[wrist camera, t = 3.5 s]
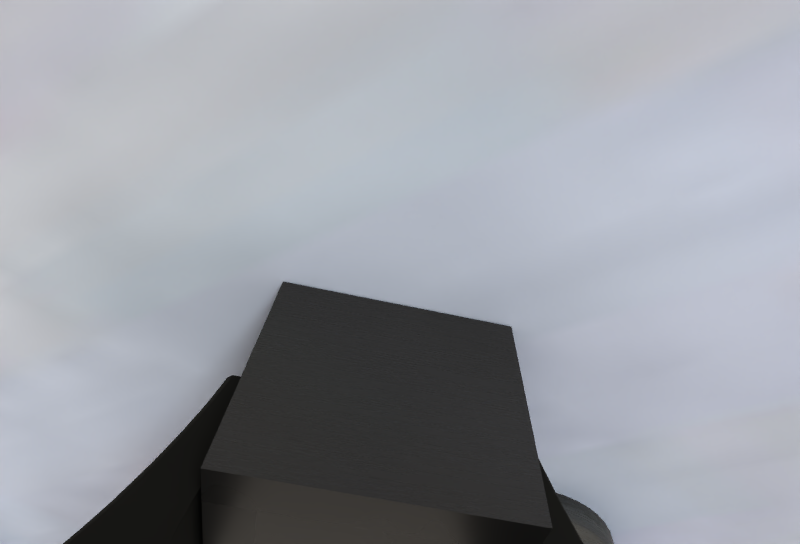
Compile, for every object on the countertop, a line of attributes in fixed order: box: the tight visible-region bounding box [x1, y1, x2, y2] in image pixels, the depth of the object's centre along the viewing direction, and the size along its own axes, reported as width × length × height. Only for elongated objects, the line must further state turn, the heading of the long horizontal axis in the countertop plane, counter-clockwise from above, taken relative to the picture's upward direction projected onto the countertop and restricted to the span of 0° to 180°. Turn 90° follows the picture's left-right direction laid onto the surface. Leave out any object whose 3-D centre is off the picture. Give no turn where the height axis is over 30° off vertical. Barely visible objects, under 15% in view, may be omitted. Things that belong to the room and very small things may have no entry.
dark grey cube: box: [201, 282, 553, 544], centre depth 10 cm, size 5×5×4 cm
